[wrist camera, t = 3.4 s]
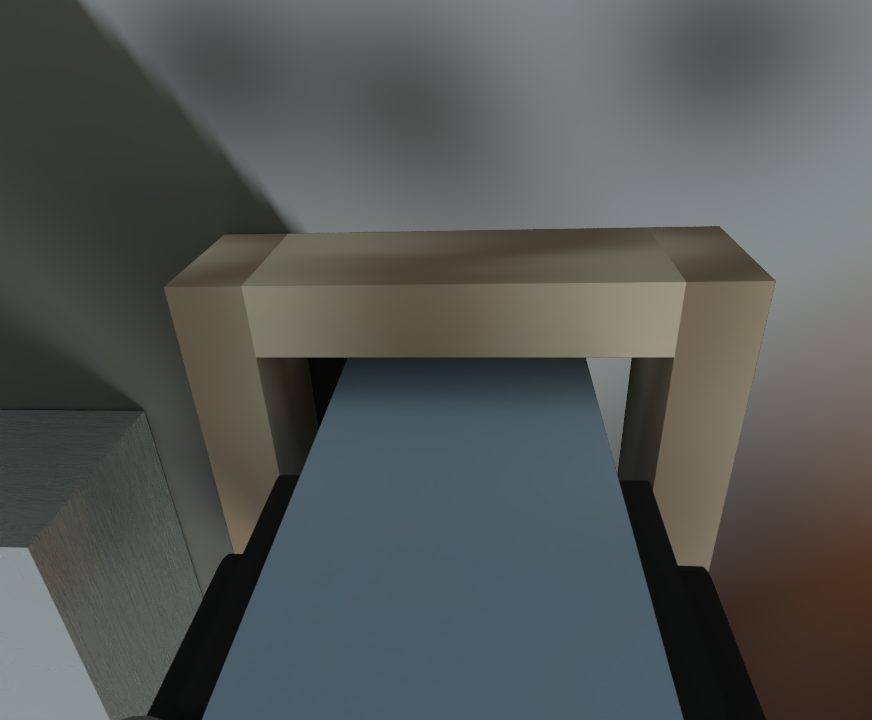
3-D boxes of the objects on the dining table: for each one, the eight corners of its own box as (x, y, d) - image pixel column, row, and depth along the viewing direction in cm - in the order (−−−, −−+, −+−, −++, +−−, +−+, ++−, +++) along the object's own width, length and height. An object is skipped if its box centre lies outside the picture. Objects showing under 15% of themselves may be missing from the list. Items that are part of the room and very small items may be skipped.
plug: (580, 339, 12) (740, 933, 4) (567, 512, 14) (659, 1121, 7) (354, 339, 13) (133, 888, 5) (374, 509, 15) (243, 1081, 7)
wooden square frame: (719, 226, 11) (776, 280, 9) (655, 586, 15) (682, 683, 13) (223, 234, 12) (163, 287, 10) (295, 575, 16) (264, 665, 14)
